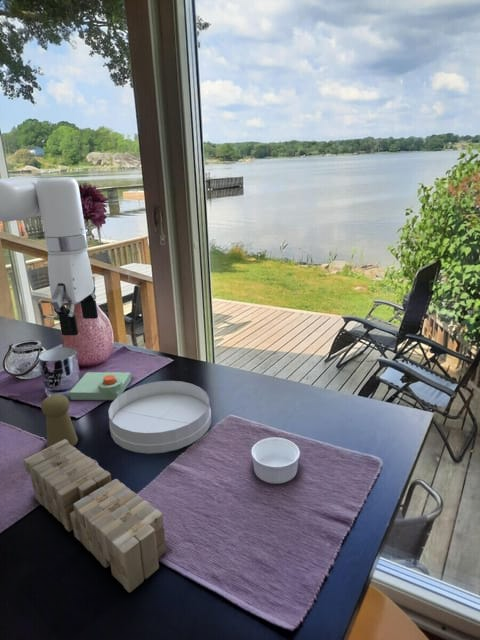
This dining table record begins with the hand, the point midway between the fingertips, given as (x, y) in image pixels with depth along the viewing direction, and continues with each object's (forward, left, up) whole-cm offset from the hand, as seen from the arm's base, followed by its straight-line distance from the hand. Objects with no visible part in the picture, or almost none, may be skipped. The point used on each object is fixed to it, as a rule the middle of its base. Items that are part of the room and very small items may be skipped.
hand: (81, 326), depth 92 cm
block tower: (+11, -30, -23) cm, 39 cm away
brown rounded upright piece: (-4, -9, -23) cm, 25 cm away
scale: (-4, +14, -23) cm, 27 cm away
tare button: (0, +11, -19) cm, 23 cm away
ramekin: (+40, -16, -23) cm, 49 cm away
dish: (+15, -1, -23) cm, 28 cm away
